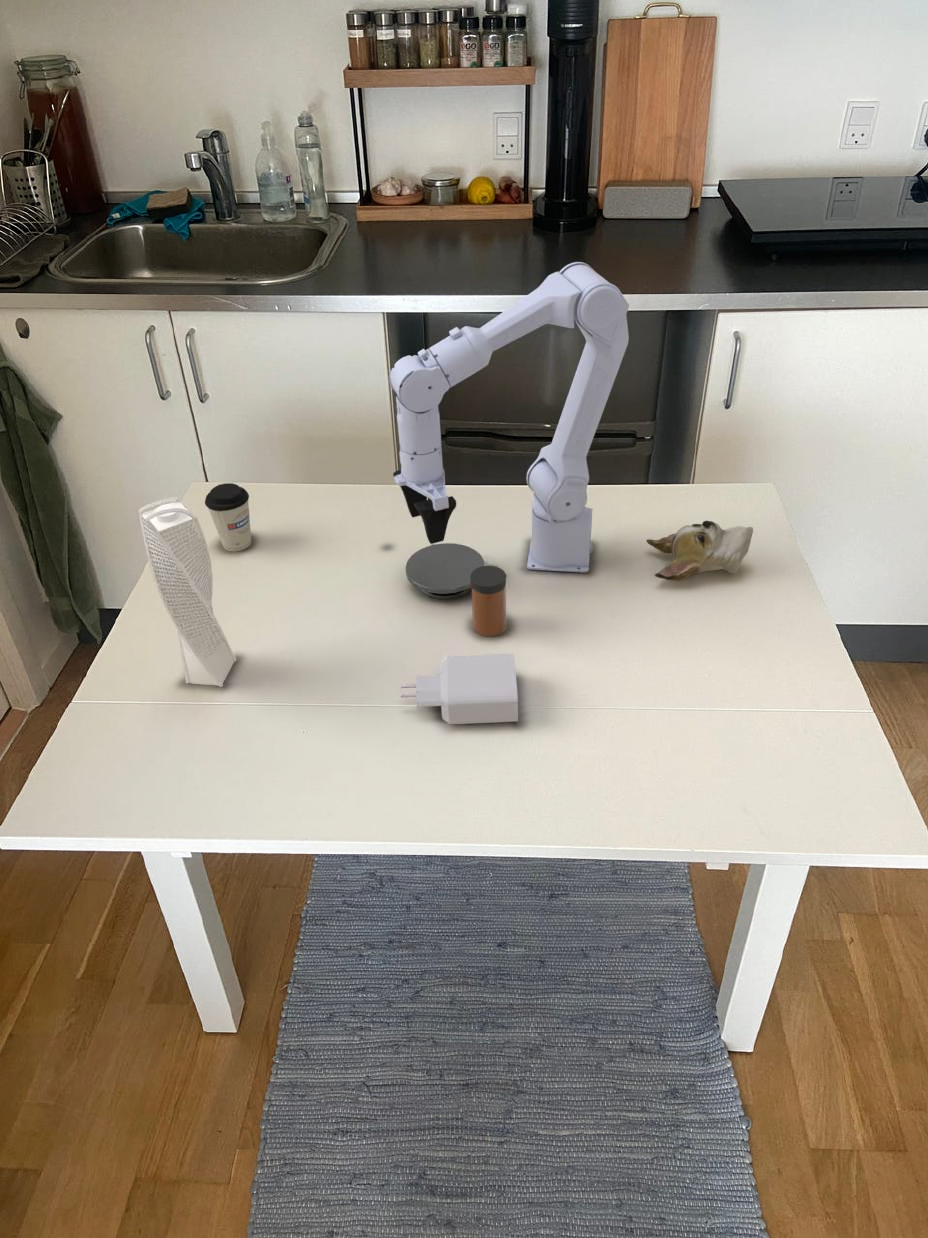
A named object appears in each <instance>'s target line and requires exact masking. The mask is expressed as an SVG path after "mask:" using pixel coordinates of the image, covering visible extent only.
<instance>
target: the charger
mask: <svg viewBox="0 0 928 1238" xmlns="http://www.w3.org/2000/svg"><path fill="white" fill-rule="evenodd" d="M415 682H416V683H412V684H410V683H409V684H401V685H400V689H415V692H414V693H413V692H410V693H400V695H399V696H400V698H416V699H415V703H416V708H420V707H421V708H422V707H424V708H425V707H440V709H441V710H440V711H441V719H442V720H443V721H445V722H446V723H447V724H449V725H466V724H487V723H510V722H512V723H513V722H519V696H518V684H517V674H516V662H515V653H513V652H512V653H511V652H510V653H489V654H465V655H463V654H462V655H447V656H446V657H445V658H444V659H442V660H441V661H440V674H421V675H416V681H415Z"/></svg>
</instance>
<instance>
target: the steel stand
mask: <svg viewBox="0 0 928 1238" xmlns="http://www.w3.org/2000/svg"><path fill="white" fill-rule="evenodd" d="M482 566H486V563H485V560H484V558H483V556H482V555H481V554H480V553H479V551H477V550H476V549H474V548H472V547H470V546H467V545H464V544H461V543H452V542H450V543H449V542H448V543H447V542H445V543H434V544H430V545H428V546H425V547H422V548H420V549H419V550H417V551H415V552H414V553H413V554H411V556H410V557H409V558H408V559H407V561H406V564H405V576H406V578H407V580H408V582H409V583H410V584H411V585H413V586H414V587H415V588H417V590H419V592H421V593H422V594H423V595H424V596H427V597H429V598H432V599H437V600H452V599H457V598H459V597H462V596H465V595H466V594H468V593H469V592H471V577H470V576H471V573H472V572H473V571H474V570H475V569H476V568H479V567H482Z"/></svg>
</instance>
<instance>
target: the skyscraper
mask: <svg viewBox="0 0 928 1238" xmlns="http://www.w3.org/2000/svg"><path fill="white" fill-rule="evenodd" d="M158 505H159V506H158ZM155 506H158V507H156V508H153V509H150V508H152V507H155ZM147 509H150V510H147ZM145 510H146V511H145ZM144 511H145V512H144ZM137 513H138V518H139V523H140V529H141V533H142V538H143V543H144V548H145V552H146V557H147V560H148V564H149V569H150V572H151V575H152V578H153V581H154V584H155V587H156V589H157V593H158V594H159V598H160V600H161V602H162V604H163V606H164V608H165V610H166V613H167V614H168V615H169V618H170V619H171V621H172V623H173V625H174V626H175V628H176V630H177V636H178V642H179V649H180V654H181V655H180V656H181V661H182V668H183V674H184V679H185V683H186V684H192V685H193V684H194V685H205V686H218V687H219V688H223V687H224V683H225V680H226V679H227V677H228V675H229V673H230V671H231V669H232V667H233V665H234V664H235V663H236V662H237V658H236V656H235V654H234V652H233V650H232V648H231V646H230V644H229V642H228V640H227V637H226V635H225V633H224V631H223V629H222V628H221V625H220V624H219V622H218V620H217V618H216V615H215V614H214V610H213V604H212V602H213V582H214V581H213V580H214V579H213V568H212V567H213V566H212V559H211V554H210V551H209V547H208V543H207V540H206V537H205V535H204V532H203V529H202V527H201V524H200V521H199V519H198V516H196V514H194V513H193V512H191V511H189V510H188V508H186V507H185V506H184V505H183V503H182V502H181V499H180V497H177V496H172V497H168V498H163V499H159V500H156V501H154V502H151V503H148V504H146V505H143V506H142V507H141V508H139V509H138V511H137Z"/></svg>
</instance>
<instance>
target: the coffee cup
mask: <svg viewBox="0 0 928 1238" xmlns="http://www.w3.org/2000/svg"><path fill="white" fill-rule="evenodd" d="M249 498H250V494H249V492H248V491H247V490H246V489H245V488H244V487H243V486H239V484H236V483H231V482H229V483H228V482H226V483H221V484H219V485H216V486H214V487H212V489H210V491H209V492H208V494H206V495H205V500H204V505H205V507H206V508H207V509H208V511H209V514H210V516H211V519H212V521H213V524H214V527H215V529H216V531H217V534H218V536H219V539H220V541H221V545H222V546H223V549H224V550H226V551H229V552H240V551H244V550H245V549H248V547H250V546H251V545H252V533H251V531H252V530H251V520H250V507H249Z"/></svg>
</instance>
